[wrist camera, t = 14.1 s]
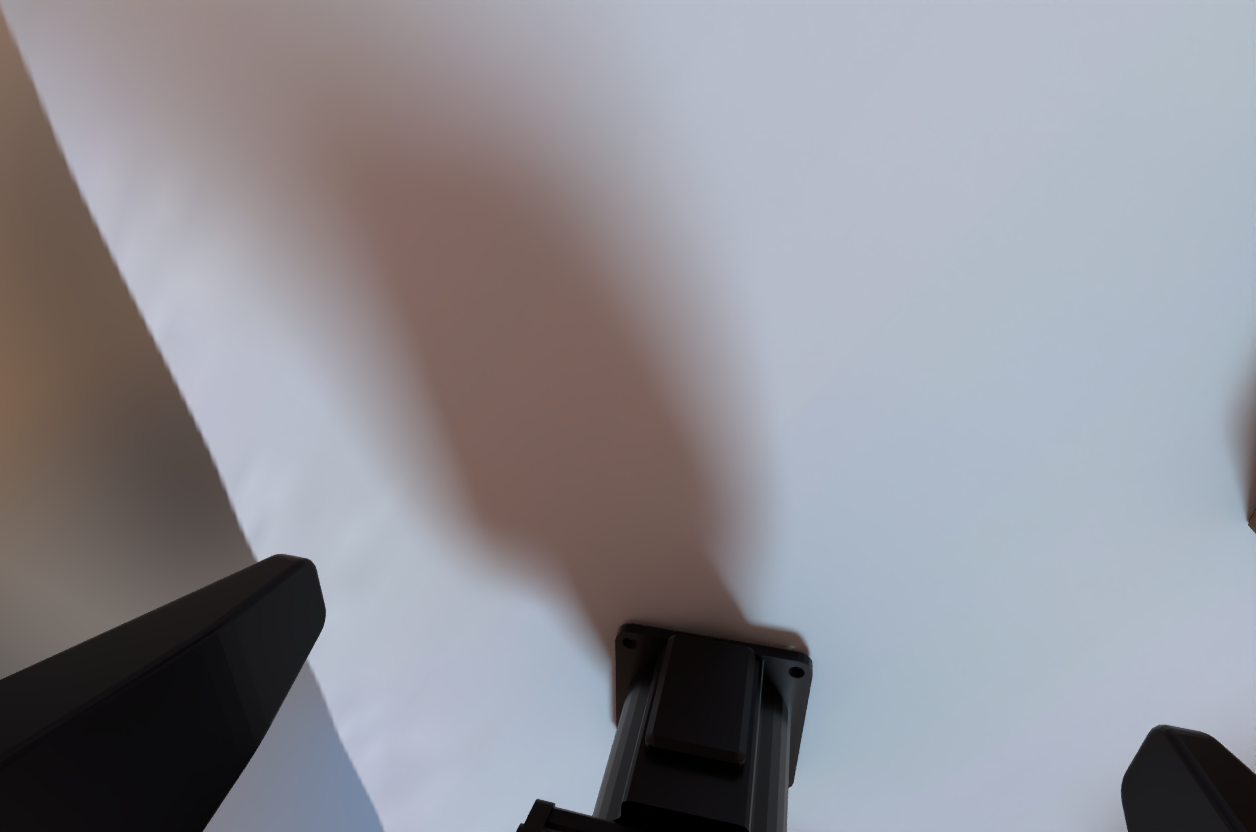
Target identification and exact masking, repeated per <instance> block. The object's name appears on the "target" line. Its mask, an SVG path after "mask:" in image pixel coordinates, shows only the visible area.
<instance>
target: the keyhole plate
mask: <svg viewBox="0 0 1256 832" xmlns="http://www.w3.org/2000/svg"><path fill="white" fill-rule="evenodd" d="M1248 525H1249V526H1250V528H1251V529H1252V530H1253V531H1254V532H1255V533H1256V510H1255V512H1254V514H1253V516H1252V518H1251V520H1250V522H1249V524H1248Z"/></svg>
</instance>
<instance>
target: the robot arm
mask: <svg viewBox="0 0 1256 832" xmlns="http://www.w3.org/2000/svg"><path fill="white" fill-rule="evenodd" d="M325 617H326V608H325V603H324V599H323V595H322V590H321V586H320V582H319V578H318V573H317V569H316V566H315V565H314V563H313V562H312V561H311V560H309V559H307V558H302V557H297V556H292V555H287V554H277V555H273V556H271V557H269V558H266V559H264V560H262V561H260V562H258V563H255V564H253V565H251V566H249V567H247V568H245V569H242V570H240V571H238V572H236V573H234V574H231V575H229V576H227V577H225V578H223V579H220V580H218V581H216V582H214V583H212V584H209V585H207V586H205V587H203V588H201V589H198V590H196V591H194V592H192V593H190V594H188V595H185V596H183V597H181V598H179V599H177V600H175V601H172V602H170V603H168V604H166V605H164V606H162V607H159V608H157V609H155V610H153V611H150V612H148V613H146V614H144V615H141V616H140V617H137V618H135V619H133V620H131V621H128V622H126V623H124V624H122V625H120V626H117V627H115V628H113V629H111V630H109V631H106V632H104V633H102V634H100V635H98V636H96V637H93V638H91V639H89V640H87V641H84V642H82V643H80V644H78V645H76V646H74V647H71V648H69V649H67V650H65V651H63V652H60V653H58V654H56V655H54V656H52V657H49V658H47V659H45V660H43V661H41V662H38V663H36V664H34V665H32V666H30V667H28V668H25V669H23V670H21V671H19V672H16V673H14V674H12V675H10V676H8V677H6V678H3V679H1V680H0V832H203V830H204V829H205V827H206V826H207V824H208V823H209V821H210V820H211V818H212V817H213V815H214V814H215V812H216V811H217V809H218V808H219V806H220V805H221V803H222V802H223V800H224V799H225V797H226V796H227V794H228V793H229V791H230V790H231V788H232V787H233V785H234V784H235V782H236V781H237V779H238V778H239V776H240V775H241V773H242V772H243V770H244V769H245V767H246V766H247V764H248V762H249V761H250V759H251V758H252V756H253V755H254V753H255V752H256V750H257V748H258V746H259V745H260V743H261V741H262V740H263V738H264V736H265V735H266V733H267V731H268V729H269V728H270V726H271V724H272V722H273V720H274V718H275V716H276V714H277V713H278V711H279V709H280V707H281V705H282V703H283V701H284V700H285V698H286V696H287V694H288V692H289V690H290V689H291V687H292V685H293V683H294V681H295V679H296V677H297V676H298V674H299V672H300V670H301V668H302V666H303V664H304V663H305V661H306V659H307V657H308V655H309V653H310V652H311V650H312V648H313V646H314V644H315V642H316V640H317V639H318V637H319V635H320V633H321V631H322V629H323V626H324V623H325ZM629 638H632V639H634V640H631V639H629ZM615 650H616V719H617V731H616V734H615V738H614V741H613V745H612V748H611V752H610V755H609V759H608V762H607V766H606V769H605V773H604V777H603V780H602V784H601V787H600V791H599V794H598V798H597V801H596V805H595V808H594V812H593V815H592V816H590V815H586V814H582V813H578V812H574V811H570V810H566V809H562V808H558V807H555V803H552V802H548V801H544V800H540V799H536V801H535V803H534V805H533V807H532V809H531V811H530V813H529V815H528V817H527V819H526V821H525V823H524V824H522V823H521V824H520V825H519V827H518V829H517V831H516V832H787V809H788V788H789V787H791V786H792V785H793V782H794V777H795V771H796V766H797V760H798V754H799V749H800V743H801V737H802V732H803V726H804V720H805V715H806V709H807V704H808V698H809V692H810V687H811V681H812V675H813V665H812V660H811V659H810V658H809V657H808V656H807V655H805V654H803V653H800V652H796V651H790V650H784V649H778V648H772V647H766V646H760V645H754V644H749V643H743V642H737V641H731V640H725V639H719V638H713V637H707V636H702V635H696V634H690V633H684V632H678V631H672V630H666V629H661V628H655V627H649V626H643V625H637V624H624V625H622V626H621V627H620V628H619V630H618V633H617V636H616V640H615ZM793 667H799V668H800V669H796V668H793ZM1121 799H1122V805H1123V810H1124V815H1125V820H1126V825H1127V829H1128V832H1256V774H1255V773H1254V772H1252V771H1251V770H1250V769H1249V768H1248V767H1247V766H1246V765H1245V764H1243V763H1242V762H1241V761H1240V760H1239V759H1238V758H1237V757H1236V756H1234V755H1233V754H1232V753H1231V752H1230V751H1229V750H1228V749H1227V748H1225V747H1224V746H1223V745H1222V744H1221V743H1220V742H1218V741H1217V740H1216V739H1215V738H1213V737H1212V736H1210V735H1208V734H1206V733H1203V732H1200V731H1195V730H1190V729H1185V728H1180V727H1175V726H1170V725H1158V726H1156V727H1154V728H1152V729H1151V731H1150V732H1149V733H1148V735H1147V737H1146V738H1145V740H1144V742H1143V743H1142V745H1141V747H1140V749H1139V750H1138V752H1137V754H1136V755H1135V757H1134V759H1133V761H1132V762H1131V764H1130V766H1129V767H1128V769H1127V771H1126V773H1125V775H1124V777H1123V781H1122V786H1121Z"/></svg>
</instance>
